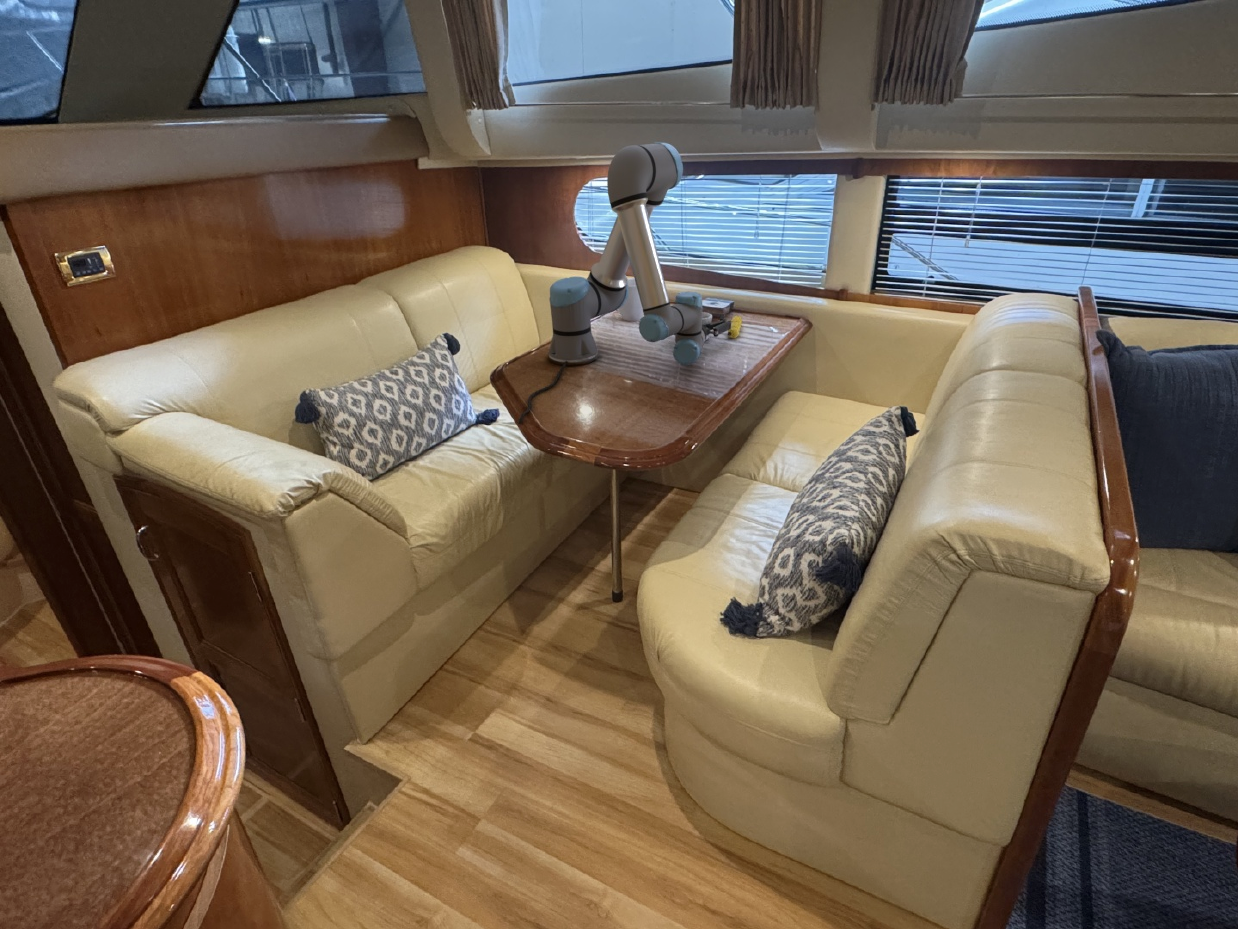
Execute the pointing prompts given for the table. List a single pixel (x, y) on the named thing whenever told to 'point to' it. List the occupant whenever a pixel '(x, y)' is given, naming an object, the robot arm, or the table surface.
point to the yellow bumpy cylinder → (735, 327)
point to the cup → (706, 320)
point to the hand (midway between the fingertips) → (702, 316)
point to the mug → (632, 303)
